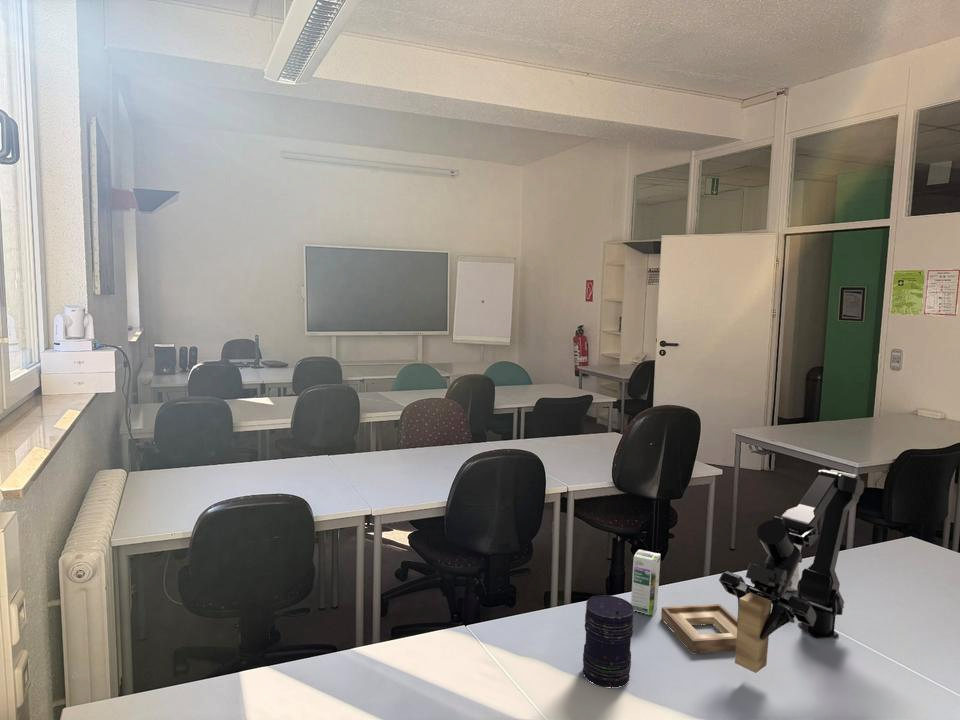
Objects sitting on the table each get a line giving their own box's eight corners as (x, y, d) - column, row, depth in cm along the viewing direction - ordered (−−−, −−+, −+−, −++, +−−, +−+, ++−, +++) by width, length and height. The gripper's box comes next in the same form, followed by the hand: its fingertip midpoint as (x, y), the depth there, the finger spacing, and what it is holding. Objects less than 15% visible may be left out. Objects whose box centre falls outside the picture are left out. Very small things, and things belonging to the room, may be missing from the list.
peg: (745, 655, 136) (750, 592, 135) (766, 665, 133) (771, 600, 131) (734, 662, 133) (739, 598, 132) (755, 673, 130) (760, 607, 128)
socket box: (719, 615, 161) (720, 604, 161) (755, 649, 146) (756, 636, 145) (661, 618, 158) (661, 607, 158) (692, 653, 143) (693, 641, 143)
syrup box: (629, 611, 162) (633, 555, 160) (635, 601, 167) (638, 547, 166) (652, 617, 159) (656, 560, 158) (657, 607, 164) (661, 552, 163)
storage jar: (573, 665, 137) (577, 598, 136) (613, 657, 141) (617, 592, 139) (598, 692, 128) (601, 621, 126) (639, 683, 131) (644, 614, 130)
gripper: (726, 534, 140) (695, 597, 134) (815, 564, 126) (784, 635, 120) (742, 560, 146) (712, 621, 140) (828, 591, 132) (800, 660, 126)
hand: (749, 633), depth 131 cm, fingers closed on peg, 4 cm apart
